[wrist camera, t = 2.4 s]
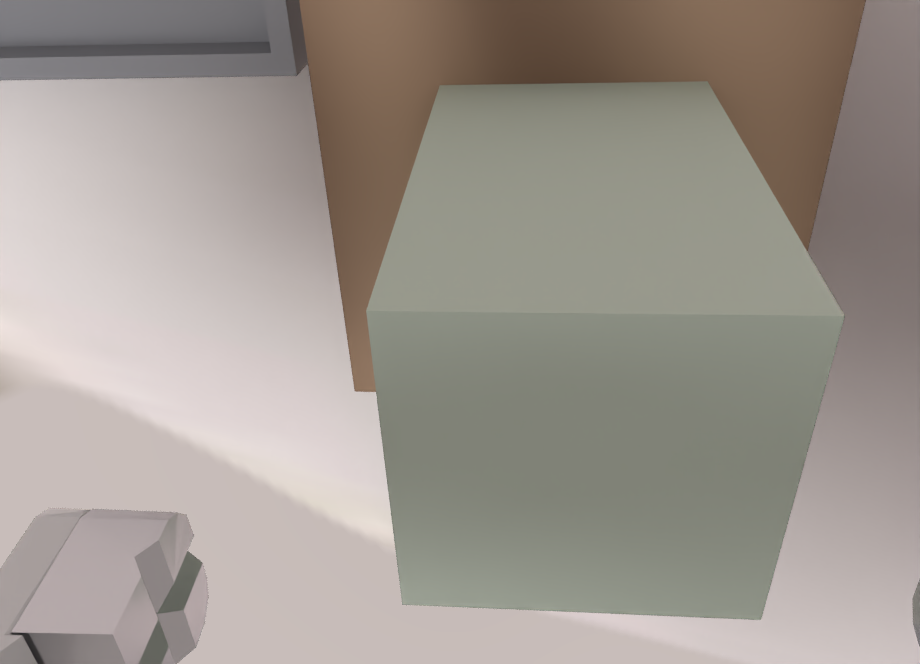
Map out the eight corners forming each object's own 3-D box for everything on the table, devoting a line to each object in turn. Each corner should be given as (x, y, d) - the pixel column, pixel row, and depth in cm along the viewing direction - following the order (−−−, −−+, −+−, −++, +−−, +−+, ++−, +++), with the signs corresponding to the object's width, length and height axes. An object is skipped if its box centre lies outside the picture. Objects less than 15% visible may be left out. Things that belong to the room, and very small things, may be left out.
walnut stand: (813, -100, 16) (882, -73, 13) (737, 308, 22) (772, 399, 19) (337, -85, 17) (291, -55, 14) (380, 304, 23) (354, 391, 20)
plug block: (707, 81, 15) (844, 316, 8) (676, 308, 18) (761, 619, 11) (439, 84, 15) (365, 311, 9) (451, 306, 18) (402, 604, 11)
